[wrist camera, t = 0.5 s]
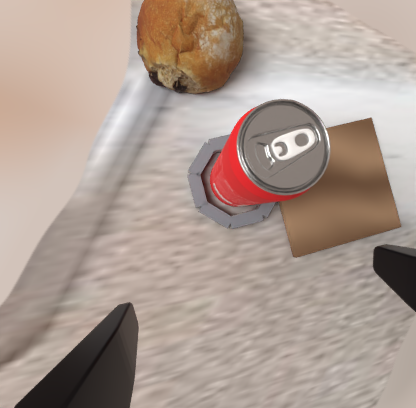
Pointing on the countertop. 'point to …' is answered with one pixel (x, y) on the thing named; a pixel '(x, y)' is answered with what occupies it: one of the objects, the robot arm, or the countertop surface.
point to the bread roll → (190, 43)
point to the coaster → (343, 194)
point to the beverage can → (271, 155)
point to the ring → (200, 197)
